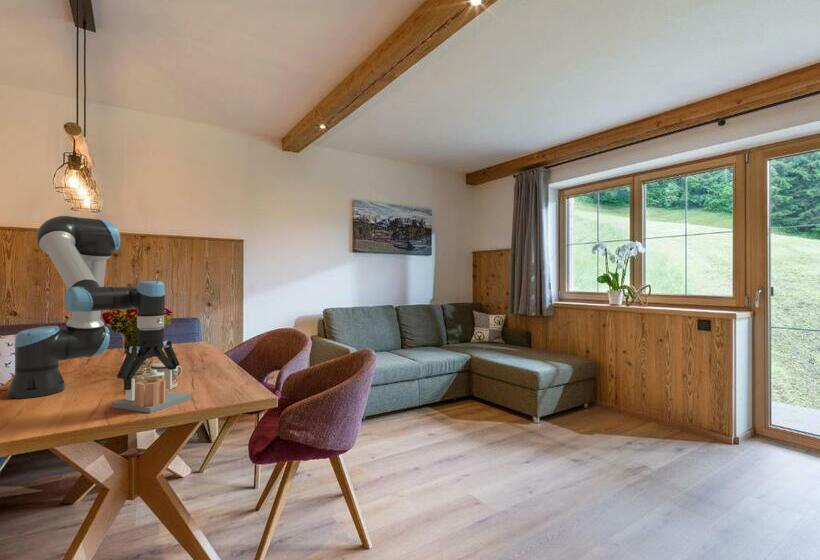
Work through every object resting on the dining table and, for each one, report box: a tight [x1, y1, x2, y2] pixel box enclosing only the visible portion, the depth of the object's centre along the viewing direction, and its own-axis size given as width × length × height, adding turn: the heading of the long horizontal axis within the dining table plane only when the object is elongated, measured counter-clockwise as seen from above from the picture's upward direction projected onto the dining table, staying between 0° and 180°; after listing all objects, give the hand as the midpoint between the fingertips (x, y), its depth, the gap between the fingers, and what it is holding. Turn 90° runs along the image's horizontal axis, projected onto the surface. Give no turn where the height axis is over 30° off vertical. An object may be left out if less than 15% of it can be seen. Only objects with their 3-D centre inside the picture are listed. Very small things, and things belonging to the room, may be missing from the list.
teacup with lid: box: [150, 357, 183, 389], centre depth 155 cm, size 12×9×12 cm
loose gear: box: [133, 378, 166, 407], centre depth 131 cm, size 9×9×7 cm
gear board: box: [112, 369, 193, 414], centre depth 135 cm, size 16×16×10 cm
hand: (150, 394), depth 131 cm, fingers open, 13 cm apart
